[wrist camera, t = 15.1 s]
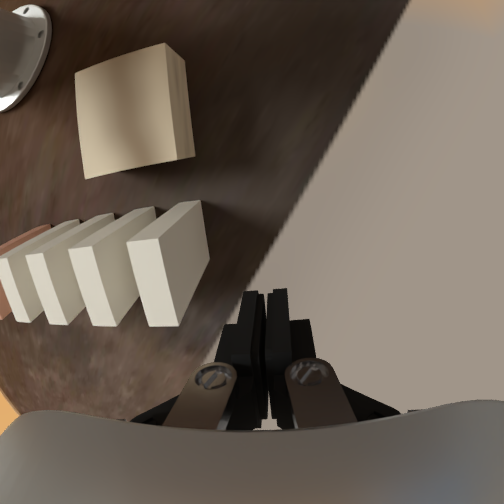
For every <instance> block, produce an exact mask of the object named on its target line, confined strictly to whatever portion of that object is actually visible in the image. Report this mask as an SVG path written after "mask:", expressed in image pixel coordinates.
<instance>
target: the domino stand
mask: <svg viewBox="0 0 504 504" xmlns="http://www.w3.org/2000/svg"><path fill="white" fill-rule="evenodd" d="M75 90H76V106H77V119H78V129H79V138H80V146H81V154H82V161H83V168H84V174H85V179H88V178H92V177H96V176H101V175H105V174H109V173H114V172H118V171H123V170H127V169H132V168H137V167H142V166H147V165H152V164H157V163H163V162H168V161H174V160H179V159H184V158H190V157H195V148H194V140H193V132H192V124H191V115H190V106H189V97H188V88H187V78H186V68H185V61H184V60H183V59H182V58H181V57H180V56H179V55H178V54H177V53H176V52H175V51H174V50H172V49H171V48H170V47H169V46H168V45H167V44H166V43H162V44H158V45H154V46H151V47H147V48H144V49H140V50H137V51H134V52H131V53H127V54H124V55H121V56H118V57H115V58H113V59H110V60H107V61H104V62H102V63H99V64H96V65H94V66H91V67H89V68H86V69H84V70H81V71H79V72H77V73H75Z"/></svg>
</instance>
